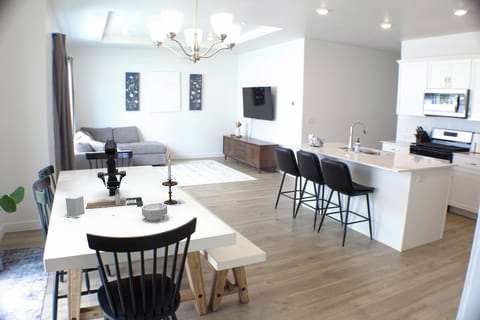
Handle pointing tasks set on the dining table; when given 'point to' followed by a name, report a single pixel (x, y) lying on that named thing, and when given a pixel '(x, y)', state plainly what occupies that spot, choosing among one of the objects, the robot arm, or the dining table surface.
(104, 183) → the robot arm
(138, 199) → the tray
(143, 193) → the dining table surface
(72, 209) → the supplement box
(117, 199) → the grey block
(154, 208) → the paper bowls
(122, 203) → the board
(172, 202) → the candlestick
